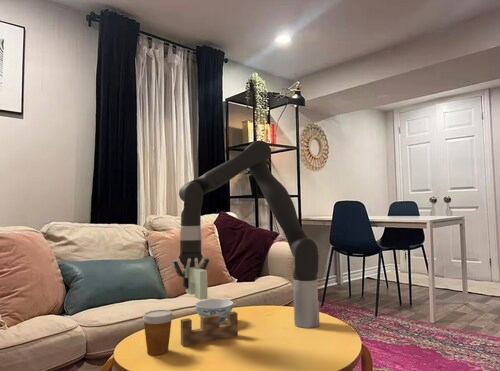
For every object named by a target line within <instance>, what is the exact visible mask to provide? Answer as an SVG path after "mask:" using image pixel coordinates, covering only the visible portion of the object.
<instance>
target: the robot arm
mask: <svg viewBox="0 0 500 371" xmlns="http://www.w3.org/2000/svg"><path fill="white" fill-rule="evenodd" d="M271 155H272V150H271V146H270V145H269V144H268V142H266V141H263V140H260V139H259V140H255V141H252V142H251V143H250V144H249V145H248V146H246V148H245V149H244V150H243V151H241V152H240V153H238V155H236V156H234V157H232V158H231V159H229V160H227V161H225V162H223V163H221V164H219V165H217V166H216V167H214V168H212V169H210V170H208V171H207V172H204V173H203V175H201V176H199V177H197V178H195V179H193V180H190V181H188V182H187V183H184V184H183V185H182V186H181V187H180V189H179V192H178V197H179V198H180V200H181V201H183V209H182V211H181V214H180V230H179V256H178V258H177V259H174V260H172V261H171V264H172V266H173V268H174V270H175V272H176V274H177V276H178V277H180V278H181V277H182V280H183V281H182V287H183V288H184V289H185V290H186V289H188V272H189V267H198V268H201V269H204V270H206V269H207V267H208V264H209V263H210V259H209V258H206V257H203V255H202V227H201V224H202V223H201V219H202V218H201V211H202V207H203V202H204V201H203V200H204V195H205V194H207V193H210V192H213V191H215V190H216V189H218V188H220V187H221V186H223V185H225V184H226V183H228V182H229V181H230V180H232V179H233V178H235V177H236V176H238V175H239V174H241V173H242V172H244V171H245V170H247V169H248V170H249V171H250V172H251V174H252V176H253V177H254V179H255V181H256V182H257V185H258V186H259V189H260V191H261V193H262V194H263V195H262V196H264V199H265V201H266V203H267V205H268V207H269V209H270V211H271V213H272V214H273V217H274V219H275V220H276V222H277V223H278V225H279V227H280V228H281V230H282V232H283V233H284V236H285V238H286V241H287V244H288V246H289V249H290V252H291V254H292V256H293V257H294V269H293V273H292V280H293V285H292V286H293V313H294V314H293V317H294V318H293V320H294V326H297V327H298V328H305V329H307V328H308V329H309V328H316V327H320V301H319V298H318V297H319V295H318V292H319V291H318V273H319V249H318V248H319V247H318V245H317V243H316V242H315V241H314V240H313V239H311V238H308V236H307V234H306V233H305V230H304V229H303V228H302V225H301V224H300V222H299V218H298V214H297V211H296V207H295V205H294V204H295V203H294V201H293V199H292V198H291V196H290V193H289V192H288V190H287V188H286V187H285V186H284V185H283V184H282V183H281V182H280V181H279V180H278V179H277V178H276V177H275V176H274V175H273V174H272V172H271V171H270V168H269V166H268V164H267V162H268V160H269V159H270V157H271ZM200 263H201V265H200V266H199V264H200ZM181 264H182V267H183V268H182V269H181V267H180V265H181Z"/></svg>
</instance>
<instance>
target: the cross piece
mask: <svg viewBox="0 0 500 371" xmlns="http://www.w3.org/2000/svg"><path fill="white" fill-rule="evenodd" d="M185 293H187V294H189V295H194V297H195V298H196V299H198V300H200V301H203V300H208V270H206V269H205V270H204V269H201V268H200V267H199V266H198V267H189V272H188V289H185Z"/></svg>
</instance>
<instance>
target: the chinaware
mask: <svg viewBox="0 0 500 371" xmlns="http://www.w3.org/2000/svg"><path fill="white" fill-rule="evenodd" d="M233 308H234V302H233V301H232V300H230V299H222V298H219V299H218V298H215V299H214V298H213V299H203V300H200V301H198V302H196V303H195V309H196V313H197V314H198V317H199V318H200V317H201V316H207V315H214V314H217V315H219V325H224V321H226V320H227V312H233Z"/></svg>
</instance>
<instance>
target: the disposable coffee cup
mask: <svg viewBox="0 0 500 371" xmlns="http://www.w3.org/2000/svg"><path fill="white" fill-rule="evenodd" d="M173 318H174V315H173V312H172V310H169V309H154V310H153V309H152V310H149V311H147V312H144V313H143V317H142V322H143V324H144V325H143V326H144V334H145V343H146V344H145V345H146V351H147V352H146V353H147V354H148V356H151V357H155V356H156V357H157V356H162V355H163V356H164V355H165V354H167V353H168V352H169V347H170V346H169V344H170V338H171V336H170V335H171V327H172V320H173Z"/></svg>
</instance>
